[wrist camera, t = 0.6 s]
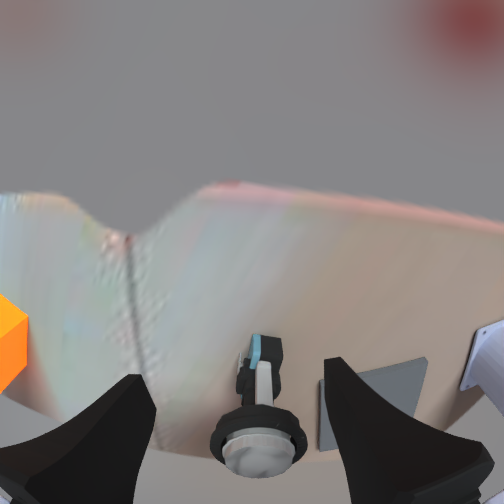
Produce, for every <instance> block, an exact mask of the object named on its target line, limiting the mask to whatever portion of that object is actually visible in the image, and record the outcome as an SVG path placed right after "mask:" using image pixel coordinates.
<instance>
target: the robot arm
mask: <svg viewBox="0 0 504 504" xmlns="http://www.w3.org/2000/svg"><path fill="white" fill-rule="evenodd" d="M476 385H479V387H480V388H481V389H482V390H483V391H484V393H485V394H486V395H487V396H488V398H489V399H490V400H491V401H492V402H493V404H494V405H495V406H496V408H497V409H498V410H499V412H500V413H501V414H502V415H503V417H504V320H501V321H499V322H496V323H494V324H491V325H488V326H486V327H483V328H480V329H478V330H477V332H476V334H475V338H474V342H473V346H472V350H471V353H470V357H469V360H468V364H467V367H466V370H465V373H464V376H463V379H462V382H461V385H460V388H459V389H460V390H461V391H464V390H466V389H469V388H471V387H473V386H476ZM324 398H325V403H326V408H327V413H328V418H329V421H330V425H331V428H332V431H333V434H334V437H335V439H336V442H337V445H338V448H339V451H340V454H341V457H342V460H343V463H344V467H345V471H346V476H347V481H348V486H349V492H350V497H351V503H352V504H480V502H479V500H478V499H479V498H480V497H481V493H480V491H479V489H478V487H479V486H480V485H481V484H482V483H483V482H484V480H485V479H486V478H487V477H488V475H489V474H490V473H491V471H492V469H493V467H494V464H495V462H494V461H493V459H492V457H491V456H490V454H489V452H488V451H487V449H486V448H485V447H484V445H483V444H482V443H481V442H478V441H474V440H469V439H465V438H461V437H457V436H454V435H451V434H448V433H445V432H443V431H440V430H437V429H435V428H433V427H431V426H429V425H426V424H424V423H422V422H420V421H418V420H416V419H414V418H412V417H411V416H409V415H407V414H406V413H404V412H402V411H401V410H399V409H398V408H396V407H395V406H393V405H392V404H391V403H389V402H388V401H387V400H385V399H384V398H383V397H382V396H380V395H379V394H378V393H377V392H376V391H374V390H373V389H372V388H371V387H370V386H369V385H368V384H367V383H366V382H364V381H363V380H362V379H361V378H360V377H359V376H358V375H357V374H356V373H355V372H354V371H353V370H352V369H351V368H350V366H349V365H348V364H347V363H346V362H345V361H344V360H343V359H342V358H341V357H336V358H330V359H325V360H324ZM156 410H157V409H156V407H155V405H154V402H153V400H152V398H151V396H150V394H149V392H148V389H147V387H146V385H145V382H144V380H143V378H142V375H141V374H128V375H127V376H125V377H124V378H123V379H121V380H120V381H119V382H118V383H116V384H115V385H114V386H113V387H112V388H111V389H109V390H108V391H107V392H106V393H105V394H103V395H102V396H101V397H100V398H99V399H97V400H96V401H95V402H94V403H93V404H91V405H90V406H89V407H87V408H86V409H85V410H83V411H82V412H81V413H79V414H78V415H77V416H75V417H74V418H72V419H71V420H69V421H68V422H66V423H64V424H63V425H61V426H59V427H58V428H56V429H54V430H52V431H50V432H48V433H45V434H43V435H41V436H39V437H37V438H34V439H32V440H29V441H26V442H23V443H20V444H16V445H12V446H8V447H4V448H0V487H1V488H2V489H3V490H4V491H6V492H7V493H8V494H9V495H10V496H11V497H12V498H13V499H12V501H11V502H9V501H8V500H7V499H6V498H4V497H2V496H1V495H0V504H133V498H134V492H135V486H136V481H137V476H138V473H139V469H140V466H141V463H142V460H143V457H144V455H145V451H146V449H147V446H148V443H149V440H150V437H151V434H152V431H153V427H154V422H155V416H156ZM483 504H504V489H503V490H502V491H500V492H499V493H497V494H496V495H494V496H492V497H491V498H489V499H488V500H486V501H485V502H484V503H483Z"/></svg>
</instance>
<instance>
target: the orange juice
mask: <svg viewBox="0 0 504 504" xmlns="http://www.w3.org/2000/svg"><path fill="white" fill-rule="evenodd" d="M27 325H28V316H27V315H26V314H25V313H23V312H22V311H21V310H19V309H18V308H17V307H16V306H14V305H13V304H12V303H11V302H9V301H8V300H7V299H6V298H5V297H3V296H2V295H1V294H0V393H1V392H2V391H3V390H4V389H5V388H6V387H7V385H8V384H9V383H10V382H11V381H12V380H13V379H14V378H15V377H16V376H17V375H18V374H19V373H20V371H21V370H22V369H23V368H24V367H25V366H26V365H27Z"/></svg>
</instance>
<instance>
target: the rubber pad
mask: <svg viewBox="0 0 504 504" xmlns="http://www.w3.org/2000/svg"><path fill="white" fill-rule="evenodd" d="M427 365H428V361H427V359H426V358H425V357H422V358H419V359H415V360H412V361H408V362H404V363H400V364H396V365H392V366H388V367H384V368H380V369H375V370H371V371H366V372H362V373H357V375H358V376H359V377H360V378H361V379H362V380H363V381H364V382H366V383H367V384H368V385H369V386H370V387H371V388H372V389H373V390H374V391H376V392H377V393H378V394H379V395H380V396H382V397H383V398H384V399H385V400H387V401H388V402H389V403H391V404H392V405H393V406H395V407H396V408H398V409H399V410H401V411H402V412H404V413H406V414H407V415H409V416H411V417H412V418H413V416H414V413H415V409H416V406H417V403H418V399H419V396H420V392H421V389H422V385H423V381H424V377H425V373H426V369H427ZM334 449H339V448H338V445H337V442H336V439H335V437H334V434H333V431H332V428H331V425H330V421H329V418H328V413H327V408H326V403H325V398H324V380H320V417H319V451H320V452H322V451H328V450H334Z"/></svg>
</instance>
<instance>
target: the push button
mask: <svg viewBox="0 0 504 504" xmlns="http://www.w3.org/2000/svg"><path fill="white" fill-rule="evenodd" d="M282 360H283V350H282V343H281V338H276V337H269V336H264V335H258V334H253V336H252V342H251V346H250V350H249V354H248V358H244V362H243V363H241V362H240V361H241V353H240V355H239V360H238V367H237V374H238V375H237V381H236V392H237V394H241V399H242V403H241V405H242V407H240V408H238V409H236V410H234V411H232V412H229V413H227V414H225V415H223V416H222V417H221V419H220V420H219V422H218V423H217V426H216V430H215V431H214V432H213V434H212V436H211V440H210V450H211V452H212V454H213V456H214V457H215V458H216V459H217V460H218V461H220V462H221V463H223V464H225V465H226V467H227V468H228V469H230V470H231V471H232V472H233V473H235V474H237V475H241V476H244V477H249V478H268V477H273V476H276V475H279V474H282V473H284V472H285V471H286V470H287V469H289V468H290V467H291V465H292V464H294V463H295V462H297V461H298V460H299V459H301V458H302V456H303V455H304V454H305V452H306V450H307V446H308V443H307V437H306V434H305V432H304V431H303V430H302V429H301V428H300V425H299V420H298V418H297V417H295V416H294V415H293V414H292V413H291V412H290V411H288V410H284V409H280V408H276V407H274V402H273V401H274V399H276V398H277V397H278V395H279V394H280V391H281V381H280V375H279V370H280V366H281V363H282ZM290 436H291V438H290ZM226 437H227V438H226Z"/></svg>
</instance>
